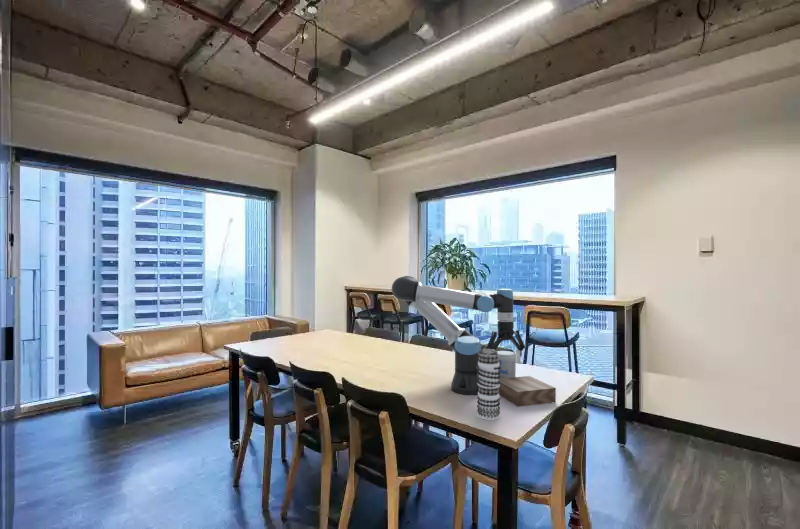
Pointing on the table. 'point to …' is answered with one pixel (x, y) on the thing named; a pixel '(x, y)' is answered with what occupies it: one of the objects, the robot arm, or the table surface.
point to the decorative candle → (488, 384)
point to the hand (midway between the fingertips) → (506, 364)
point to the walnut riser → (526, 391)
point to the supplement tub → (507, 364)
